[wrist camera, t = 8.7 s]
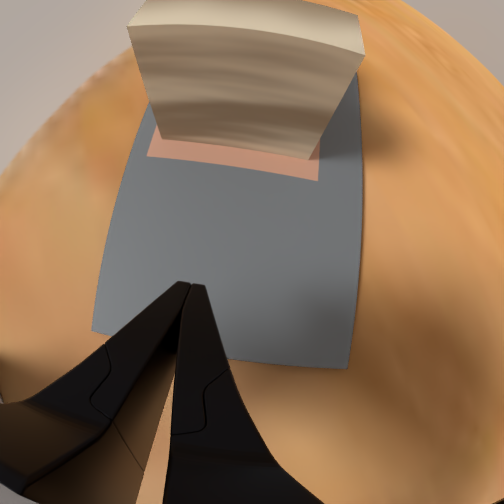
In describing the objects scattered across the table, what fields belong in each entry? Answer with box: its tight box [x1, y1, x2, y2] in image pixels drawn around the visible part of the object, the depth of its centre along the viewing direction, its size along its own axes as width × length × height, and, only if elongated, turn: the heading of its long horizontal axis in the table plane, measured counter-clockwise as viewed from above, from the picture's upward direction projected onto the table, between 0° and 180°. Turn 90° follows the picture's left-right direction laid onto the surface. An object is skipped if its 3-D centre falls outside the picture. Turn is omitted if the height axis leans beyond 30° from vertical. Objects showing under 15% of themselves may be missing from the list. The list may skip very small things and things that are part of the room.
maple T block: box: [127, 0, 365, 160], centre depth 15 cm, size 9×10×10 cm
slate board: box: [91, 72, 362, 369], centre depth 19 cm, size 24×16×1 cm, turn 172°
